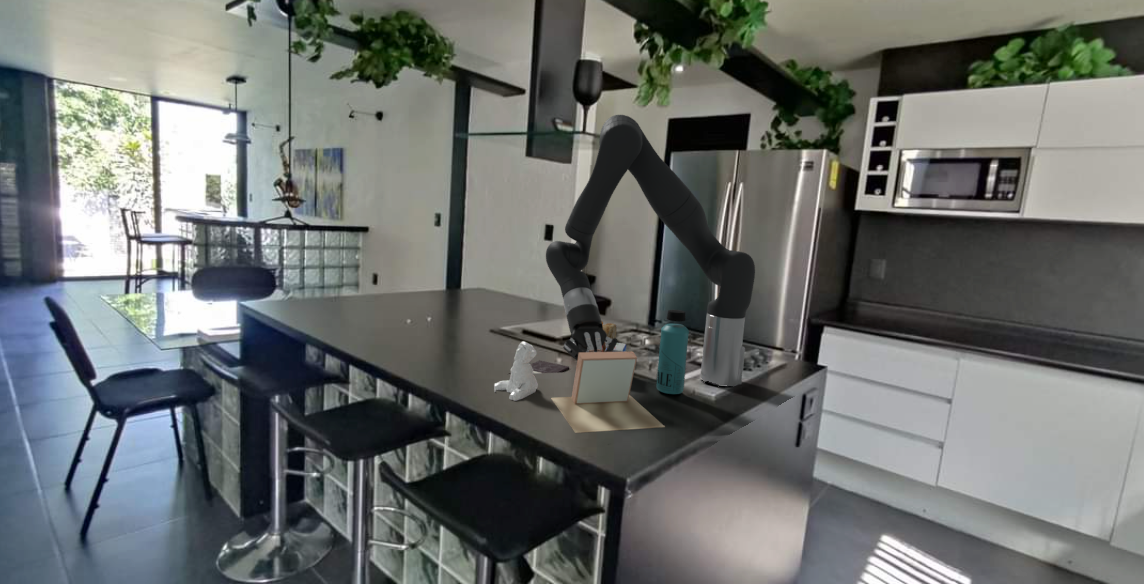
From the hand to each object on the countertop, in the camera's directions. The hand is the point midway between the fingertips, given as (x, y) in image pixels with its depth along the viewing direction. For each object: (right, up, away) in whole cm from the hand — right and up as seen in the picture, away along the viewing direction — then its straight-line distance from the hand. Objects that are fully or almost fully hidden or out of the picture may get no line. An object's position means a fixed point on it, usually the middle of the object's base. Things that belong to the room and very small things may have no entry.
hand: (600, 379), depth 113 cm
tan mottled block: (+4, 0, +37) cm, 37 cm away
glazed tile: (0, -4, 0) cm, 4 cm away
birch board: (+1, -6, -6) cm, 8 cm away
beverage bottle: (+16, -5, +8) cm, 19 cm away
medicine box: (+4, -3, +17) cm, 18 cm away
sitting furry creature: (-18, -4, +3) cm, 19 cm away
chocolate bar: (-15, -2, +19) cm, 24 cm away
